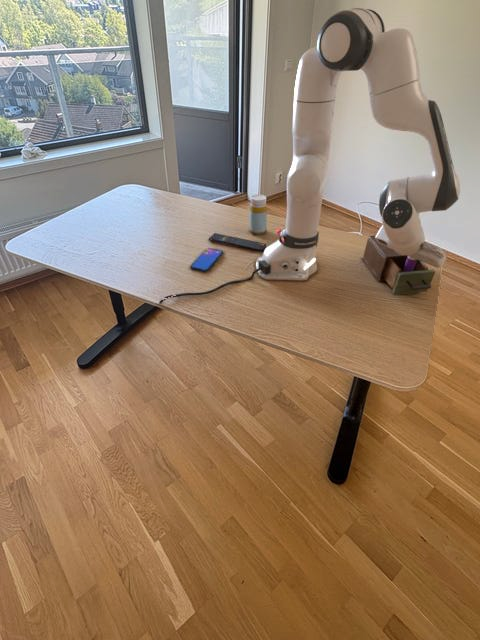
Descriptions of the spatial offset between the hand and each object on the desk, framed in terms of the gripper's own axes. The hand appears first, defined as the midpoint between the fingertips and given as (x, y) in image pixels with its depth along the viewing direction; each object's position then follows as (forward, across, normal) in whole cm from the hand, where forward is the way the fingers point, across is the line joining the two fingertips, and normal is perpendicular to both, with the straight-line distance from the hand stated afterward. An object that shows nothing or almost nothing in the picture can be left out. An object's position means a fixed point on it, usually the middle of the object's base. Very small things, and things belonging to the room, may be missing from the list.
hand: (413, 256), depth 110 cm
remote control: (-8, +60, +24) cm, 65 cm away
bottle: (+2, +63, +15) cm, 65 cm away
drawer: (+7, 0, +8) cm, 10 cm away
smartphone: (-20, +58, +36) cm, 71 cm away
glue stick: (+4, 0, +5) cm, 6 cm away
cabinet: (+12, +10, +4) cm, 16 cm away
